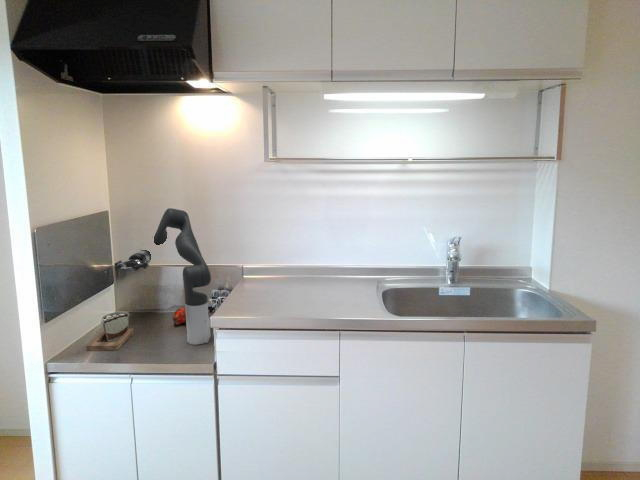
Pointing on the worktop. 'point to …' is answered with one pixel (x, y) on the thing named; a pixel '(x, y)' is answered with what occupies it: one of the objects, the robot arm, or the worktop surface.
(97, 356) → the worktop surface
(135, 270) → the robot arm
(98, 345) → the notched board
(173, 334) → the worktop surface
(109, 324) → the food container
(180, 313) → the dragon fruit
